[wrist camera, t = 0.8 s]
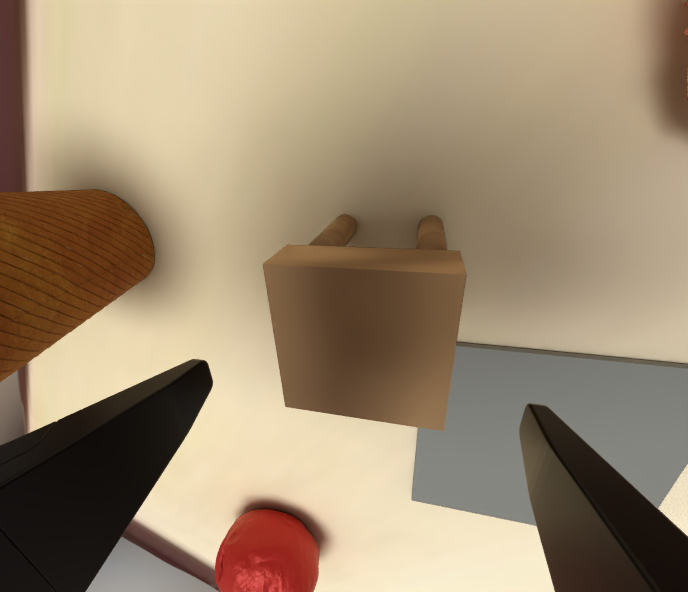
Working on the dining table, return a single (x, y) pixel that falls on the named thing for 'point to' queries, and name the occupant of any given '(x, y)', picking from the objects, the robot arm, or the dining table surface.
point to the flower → (687, 69)
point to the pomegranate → (267, 555)
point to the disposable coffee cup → (63, 265)
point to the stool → (367, 325)
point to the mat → (568, 404)
